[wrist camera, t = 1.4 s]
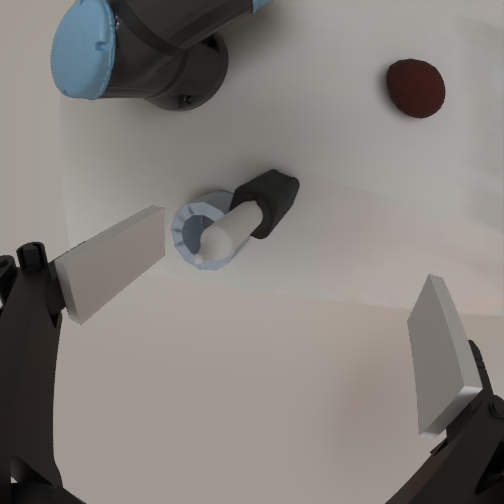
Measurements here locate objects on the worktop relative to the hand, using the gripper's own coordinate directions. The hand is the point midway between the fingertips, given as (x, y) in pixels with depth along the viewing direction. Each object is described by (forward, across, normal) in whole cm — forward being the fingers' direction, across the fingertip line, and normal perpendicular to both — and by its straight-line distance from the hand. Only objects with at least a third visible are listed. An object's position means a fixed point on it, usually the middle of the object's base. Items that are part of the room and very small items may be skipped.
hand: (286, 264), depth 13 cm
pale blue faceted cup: (+30, -15, -12) cm, 35 cm away
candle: (+30, -7, -5) cm, 31 cm away
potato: (+30, +9, +14) cm, 34 cm away
